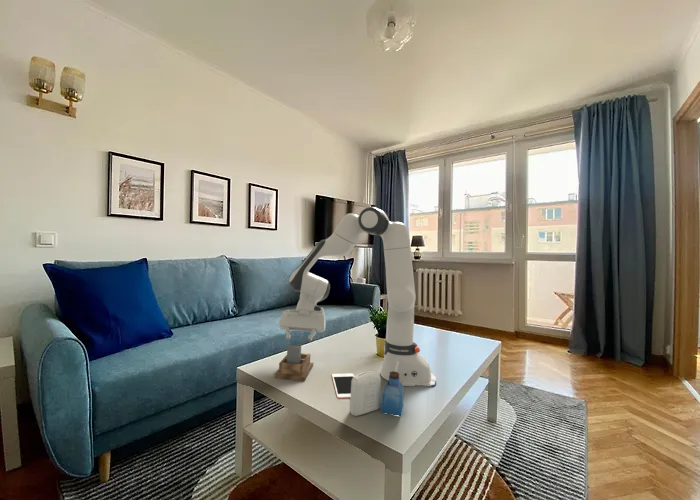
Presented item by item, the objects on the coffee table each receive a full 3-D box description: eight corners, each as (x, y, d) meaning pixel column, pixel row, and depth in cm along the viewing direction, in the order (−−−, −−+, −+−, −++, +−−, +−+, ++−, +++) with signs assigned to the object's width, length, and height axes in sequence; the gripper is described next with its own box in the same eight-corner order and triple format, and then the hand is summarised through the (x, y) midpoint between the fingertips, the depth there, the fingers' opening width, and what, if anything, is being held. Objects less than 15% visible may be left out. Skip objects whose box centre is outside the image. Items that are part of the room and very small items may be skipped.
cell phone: (352, 375, 119) (353, 373, 118) (362, 398, 101) (362, 396, 101) (331, 376, 117) (331, 373, 117) (337, 399, 99) (337, 397, 99)
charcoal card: (300, 370, 116) (301, 345, 116) (298, 373, 114) (299, 347, 114) (288, 369, 117) (289, 344, 117) (286, 371, 115) (287, 346, 114)
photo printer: (373, 402, 98) (374, 366, 98) (381, 409, 94) (383, 371, 94) (347, 411, 92) (349, 372, 92) (355, 418, 88) (357, 378, 88)
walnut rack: (313, 366, 125) (313, 353, 124) (304, 381, 111) (305, 366, 111) (286, 363, 126) (287, 351, 126) (274, 378, 112) (275, 364, 112)
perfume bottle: (384, 403, 98) (386, 368, 98) (403, 407, 96) (404, 371, 96) (381, 413, 92) (383, 375, 92) (400, 417, 90) (402, 379, 90)
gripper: (282, 305, 129) (273, 333, 120) (326, 308, 127) (321, 337, 118) (284, 313, 134) (276, 340, 124) (328, 316, 132) (323, 344, 122)
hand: (298, 339), depth 121 cm, fingers open, 8 cm apart
